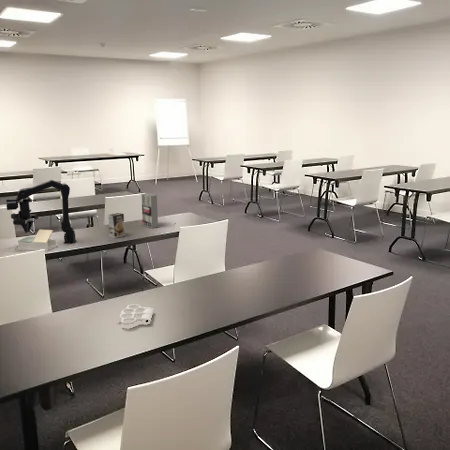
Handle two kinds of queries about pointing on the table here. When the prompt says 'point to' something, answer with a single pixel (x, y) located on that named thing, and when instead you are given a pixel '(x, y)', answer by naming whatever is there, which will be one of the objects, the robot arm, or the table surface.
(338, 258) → the table surface
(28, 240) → the lid outer
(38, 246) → the white tray
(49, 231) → the lid inner
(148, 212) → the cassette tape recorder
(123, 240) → the table surface
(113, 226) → the coffee box
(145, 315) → the white flat holed piece
